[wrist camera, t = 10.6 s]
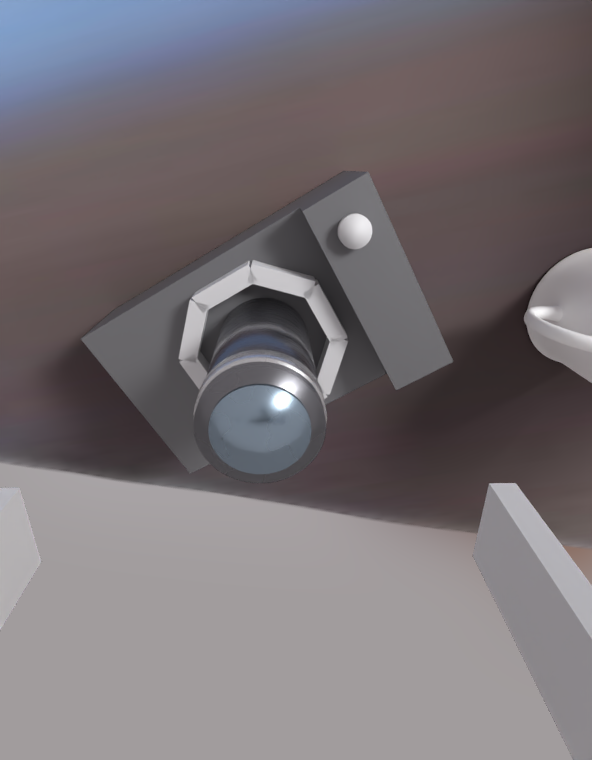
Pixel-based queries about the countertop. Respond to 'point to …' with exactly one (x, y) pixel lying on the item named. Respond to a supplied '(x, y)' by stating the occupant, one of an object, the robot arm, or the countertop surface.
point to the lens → (261, 396)
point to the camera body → (287, 284)
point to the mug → (564, 313)
